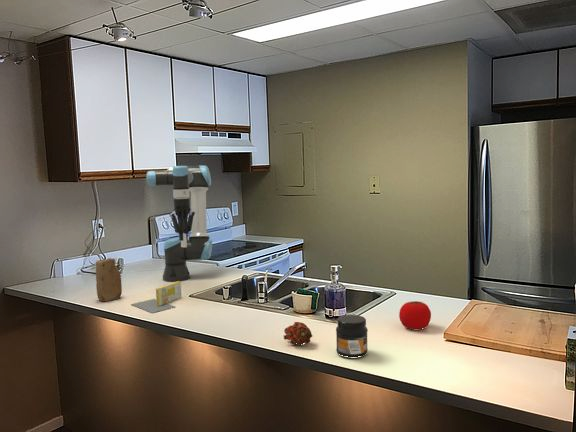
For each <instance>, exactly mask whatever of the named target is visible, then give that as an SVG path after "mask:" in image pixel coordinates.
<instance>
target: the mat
mask: <svg viewBox="0 0 576 432" xmlns="http://www.w3.org/2000/svg"><path fill="white" fill-rule="evenodd" d="M130 305H131V306H133V307H135V308H138V309H140V310H143V311H145V312H147V313H150V314H155V313H159V312H163V311H168V310H171V308H172V309H175V307H176V306H175V305H172V304H169V303H166V304H163V305H161V306H157V300H156V298H152V299H146V300H144V301H138V302H134V303H131V304H130ZM167 309H168V310H167Z"/></svg>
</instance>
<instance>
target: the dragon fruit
mask: <svg viewBox="0 0 576 432" xmlns="http://www.w3.org/2000/svg"><path fill="white" fill-rule="evenodd" d="M283 332H284V334H283V339H284V340H285V341H286V340H288V341H290V344H291V345H292V344H295V345H298V344H300V345H299V346H302V345H301V344H303V343H305V344H309V343H310V342H311V338H312V337H313V334H312V331H311V330H310V328H309V327H308V326H307V325H306V324H305V323H304V322H300V321H294V323H293V324H291V325H288V327H285V329H284V330H283ZM296 343H297V344H296Z"/></svg>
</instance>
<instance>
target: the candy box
mask: <svg viewBox="0 0 576 432" xmlns="http://www.w3.org/2000/svg"><path fill="white" fill-rule="evenodd" d="M181 282H182V281H173V282H171V283H168V284H165V285H163V286H159V287H156V288H155V296H156V298H155V299H156V300H157V306H161V305H163V304H166V303H167V304H169V303H171V302H173V301H176V300H179V299H182V297H183V296H182V283H181Z"/></svg>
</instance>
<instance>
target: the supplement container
mask: <svg viewBox="0 0 576 432" xmlns="http://www.w3.org/2000/svg"><path fill="white" fill-rule="evenodd" d="M336 321H337V323H336V324H337V326H336V327H335V333H336V334H335V335H336V341H335V342H336V350H335V351H336V352H337V354H338V355H339V354H340V355H343V356H348V357H358V356H363V355H365V354H366V353H367V354H368V352H369V351H368V332H369V331H368V330H369V329H368V327H367V318H365V317H364V316H362V315H356V314H344V315H340V316H339V317H338V318H337V319H336ZM367 354H366V355H367ZM340 355H339V356H340ZM366 355H365V356H366ZM363 357H364V356H363Z"/></svg>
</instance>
